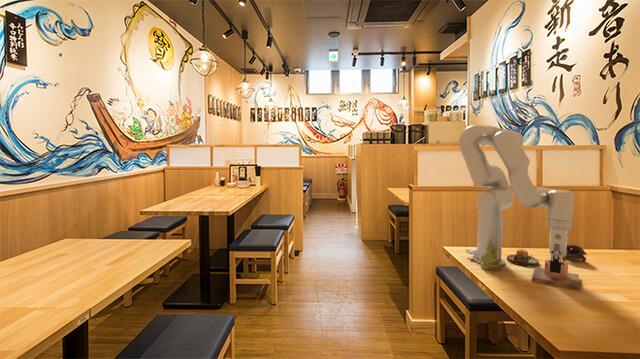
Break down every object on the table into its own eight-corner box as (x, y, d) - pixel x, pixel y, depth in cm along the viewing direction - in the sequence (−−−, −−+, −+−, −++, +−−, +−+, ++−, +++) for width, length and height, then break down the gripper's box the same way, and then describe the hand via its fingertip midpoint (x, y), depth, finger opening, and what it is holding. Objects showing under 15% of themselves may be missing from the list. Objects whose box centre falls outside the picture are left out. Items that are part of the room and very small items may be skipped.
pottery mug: (594, 265, 143) (591, 250, 140) (573, 274, 143) (571, 260, 140) (570, 249, 154) (567, 236, 151) (551, 258, 154) (548, 245, 151)
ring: (543, 276, 124) (544, 263, 124) (544, 271, 130) (545, 258, 129) (567, 281, 120) (568, 267, 119) (567, 275, 126) (568, 262, 125)
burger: (544, 264, 142) (546, 247, 141) (527, 269, 137) (528, 251, 136) (517, 256, 153) (518, 240, 152) (500, 260, 148) (501, 243, 147)
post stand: (531, 281, 123) (532, 264, 123) (534, 270, 135) (535, 254, 134) (579, 290, 115) (581, 272, 115) (578, 278, 126) (579, 261, 126)
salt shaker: (503, 272, 132) (504, 248, 131) (482, 271, 134) (484, 247, 133) (497, 265, 140) (499, 242, 138) (478, 263, 141) (479, 241, 140)
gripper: (572, 229, 114) (567, 278, 116) (571, 220, 128) (567, 264, 130) (545, 226, 118) (541, 273, 120) (547, 218, 132) (544, 260, 134)
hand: (555, 268), depth 125 cm, fingers open, 9 cm apart
